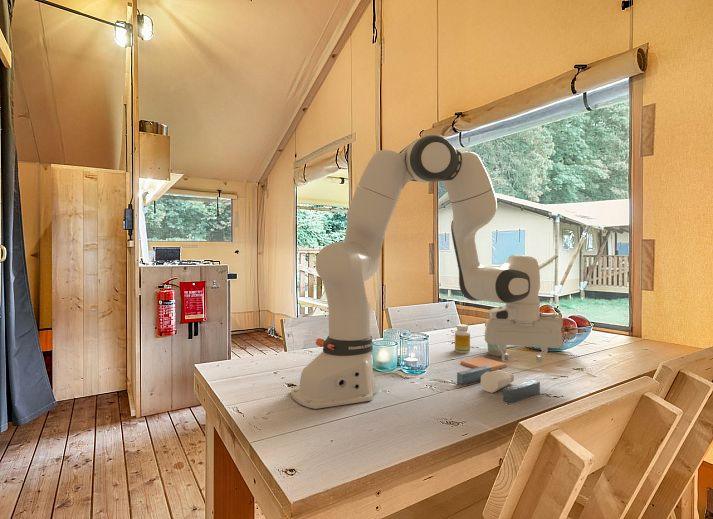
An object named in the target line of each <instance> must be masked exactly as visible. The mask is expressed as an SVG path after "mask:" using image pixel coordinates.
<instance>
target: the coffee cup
mask: <svg viewBox="0 0 713 519" xmlns="http://www.w3.org/2000/svg"><path fill="white" fill-rule="evenodd" d="M488 319H489V318H488ZM488 319H486V320H485V322H484V327H486V322H487V320H488ZM486 344H487V351H488V352H487V353H488V354H489V355H491V356H497V357H499V356H500V357H502V353H501V352H500V350H499V348H498V345H495V344H488V343H487V342H486ZM507 348H508V345H504V349H502V350H503V352H504V353H507Z"/></svg>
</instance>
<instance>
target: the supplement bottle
mask: <svg viewBox="0 0 713 519" xmlns="http://www.w3.org/2000/svg"><path fill="white" fill-rule="evenodd" d="M470 333H471V332H470V331H469V325H468V324H463V323H462V324H459V323H458V324H456V330H455V331H454V351H455V352H456V353H459V354H468V352H469V353H470V352H471V334H470Z"/></svg>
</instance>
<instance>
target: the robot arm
mask: <svg viewBox="0 0 713 519" xmlns="http://www.w3.org/2000/svg"><path fill="white" fill-rule="evenodd" d="M410 181H411V182H419V183H433V182H435V183H436V182H440V183H441V184H442V185H443V187H444V189H445V190H446V192H447V196H448V199H449V202H450V205H451V210H452V221H451V224H450V227H451V228H450V231H451V238H452V244H453V247H454V248H453V249H454V253H455V258H456V263H457V268H458V284H459V285H458V286H459V289H460V292H461V293H462V295H463V296H464V297H465V298H466V299H467V300H469V301H479V302H480V301H481V302H482V301H483V302H484V301H485V302H489V303H490V302H491V303H499V304H505V305H501V306H498V307H493V308H490V310H489V317H488V320H487V319H486V320H487V322H486V321H485V323H486V326H484V327H485V330H484V341H485V342H486V344H487V343H488V344H495V345H498V348H499V350H500V352H501V353H502V356H501V361H505V362H506V361H507V362H508V361H509V354H508V353H507V352H506V353H504V352H503V350H502V349H504V345H507V346H517V347H535V348H540V350H541V352H540V353H539V354H536V356H535V358H536V359H535V361H536V363H539V364H543V363H544V358H545V356H546V355H547V353H548V352H549V351H548V350H549V348H555V349H560V348H561V347H562V346H563V334H562V328H563V326H564V323H563V321H564V320H563V318H562V316H560V315H558V314H557V313H544V312H543V313H542V312H540V310H541V309H540V307H541V300H540V297H539V291H540V289H541V274H540V273H541V272H540V266H539V263H538V262H539V261H538V260H537V258H535V257H533V256H530V255H523V254H512V255H510V256H509V257H508V258H507V260H506V261H505V262H504V263H503V264H500V265H498V266H496V267H491V266H490V267H489V266H484V265H482V264H481V263H480V261H479V256H478V251H477V246H476V245H477V244H476V241H475V240H476V234H477V232H478V231H479V230H481V229H482V228H483V227H485V226H486V225H488V224H489V223H490V222H491V221H492V220H493V219H494V217H495V215H496V213H497V210H498V202H497V197H496V193H495V190H494V188H493V184H492V180H491V178H490V176H489V173H488V172H487V169H486V167H485V165H484V163H483V161H482V159H481V158H480V156H479V154H477V153H476V152H473V151H461V152H460V151H459V150H458V149H457V147H455V146H454V145H453V144H452V143H451V142H450V141H449V140H448V139H446V138H444V137H443V136H440V135H437V134H435V135H434V134H431V135H426V136H422V137H419V138H417V139H415V140H414V141H412V142H411V143H409V144H408V145H406V146H405V147H404V148H403V149H402V150H401V151H399V152H396V151H393V150H388V149H382V150H378V151H376V152H375V153H374V154H372V157H371V158H370V160H369V161H368V163H367V165H366V166H365V169H364V171H363V172H362V175H361V176H360V179H359V182H358V184H357V186H356V188H355V191H354V194H353V196H352V198H351V201H350V204H349V206H348V209H347V212H346V230H345V236H344V239H343V241H335V242H332V243H330V244H327V245H326V246H324V247H323V248H321V249H320V250H319V252H318V253H317V255H316V257H315V261H314V262H315V263H314V264H315V270H316V273H317V275H318V276H319V278H320V279H321V281H322V284H323V287H324V288H323V289H324V291H325V295H326V300H327V306H328V307H327V308H328V336H327V337H326V339H325V340H324V339H322V338H320V337H318V338H316V340H315V345H316V346H317V347H320V348H322V351H321V352H320V353H319V354H318V355H317V356H316V357H315V358H314V359H313V360H311V362H309V363H308V364H307V365H306V366H305V367H304V368H303V369H302V371H301V375H300V378H299V385H298V386H294V387H292V388H291V392H290V396H291V398H292V399H293V400H294V401H295V402H297V403H298V404H300V405H301V406H304V407H306V408H309V409H315V410H317V409H322V408H323V409H324V408H329V407H337V406H343V405H350V404H356V403H357V404H358V403H364V402H368V401H372V400H373V397H374V396H373V395H375V394H376V392H377V391H378V388H377V384H376V381H375V375H374V370H373V360H372V352H373V336H372V335H371V334H372V333H371V331H372V330H371V329H372V328H371V327H372V326H371V325H372V324H371V322H372V321H371V317H372V316H371V314H372V313H371V312H372V311H371V310H372V309H371V305H370V302H369V301H368V297H367V292H366V288H365V282H366V281H367V280H369V279H370V278H372V277H373V276H374V275H375V274H376V273H377V271H378V269H379V265H380V256H381V252H382V248H383V245H384V240H385V236H386V231H387V230H388V226H389V223H390V221H391V219H392V216H393V213H394V211H395V209H396V206H397V204H398V202H399V199H400V197H401V194H402V191H403V189H404V188H405V187H406V186H407V183H409V182H410Z"/></svg>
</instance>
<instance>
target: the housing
mask: <svg viewBox="0 0 713 519" xmlns="http://www.w3.org/2000/svg"><path fill="white" fill-rule="evenodd" d="M485 372H492V371H491V367H488V366H483V367H478V368H471V369H467V370H462V371H458V372H456V374H457V375H456V382H457V384H458V385H461V386H465V385H469V384H472V383H477V382H481V376H482V375H483V374H484V373H485ZM502 389H503V391H502V392H503V393H502V395H503V398H502V399H503V400H502V401H503V402H506V403H509V404H512V403H515V402H518V401H521V400H525V399H528V398H530V397H534V396H538V395H540V394H541V392H540V391H541V383H540V381H538V380H535V379H532V380H528V381H524V382H521V383H518V384H514V385H510V386H508V387H507V386H506V387H503V388H502Z"/></svg>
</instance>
